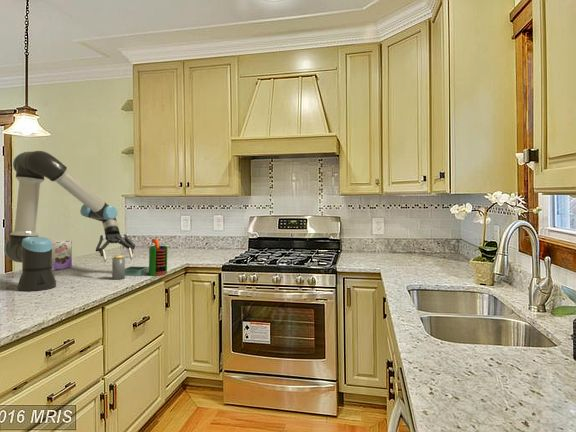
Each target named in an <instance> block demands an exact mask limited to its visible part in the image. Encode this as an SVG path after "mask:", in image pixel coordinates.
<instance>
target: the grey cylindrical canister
mask: <svg viewBox="0 0 576 432" xmlns="http://www.w3.org/2000/svg"><path fill="white" fill-rule="evenodd" d="M111 260H112V261H111V262H112V265H111V268H112V269H111V271H112V272H111V280H113V281H121V280H125V279H126V277H125V268H126V266H125V262H126V259H125V257H124V255H123V254H121V255H119V254H117V255H114V256H113V257H112V258H111Z"/></svg>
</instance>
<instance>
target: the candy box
mask: <svg viewBox="0 0 576 432" xmlns="http://www.w3.org/2000/svg"><path fill="white" fill-rule="evenodd" d="M51 242H52V272H53V271H60V270H65V269H70V268H71V269H72V267H73V266H72V265H73V263H72V257H73V253H72V249H73V247H72V246H73V245H72V244H73V242H72V240H55V241H51Z"/></svg>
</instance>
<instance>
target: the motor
mask: <svg viewBox="0 0 576 432" xmlns="http://www.w3.org/2000/svg"><path fill="white" fill-rule="evenodd" d="M151 244H154V245H152V246H149V247H148V248H149V249H148V267H149V273H148V276H150V277H160V276H161V277H162V276H165V275H166V274H167V273H168V246H166V245H160V243H159V240H158V238H152V239H151Z"/></svg>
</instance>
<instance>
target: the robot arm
mask: <svg viewBox="0 0 576 432" xmlns="http://www.w3.org/2000/svg"><path fill="white" fill-rule="evenodd" d="M12 166H13V167H12V168H13V169H14V171H15V172H16V173H15V179H16V180H17V181H18V183H19V184H18V190H17V198H16V199H17V200H16V209H15V210H16V211H15V221H14V229H13V231H11V233H10V234H9V240H8V241H7V242H6V243H5V244H4V248H3V249H4V253H5V256H6V257H7V258H8V259H9V260H11V261H13V262H16V263H21V268H22V269H21V270H22V271H21V275H20V277H19V280H18V283H17V290H18V291H22V292H34V291H35V292H36V291H37V292H38V291H45V290H49V289H50V290H51V289H53V288H56V287H57V280H56V277H55V275H54V272H53V271H52V242H53V241H52V240H51V239H50V238H48V237H45V236H39V234H38V233H37V232H36V229H37V219H38V208H39V199H40V190H41V189H40V188H41V184H42V183H43V182H45V178H46V179H49V181H50V182H55V183H56V184H57V185H59V186H61V187H62V188H63V189H64V190H65V191H67V192H68V193H69V194H71V196H73V197H74V198H76V199H77V200H78V201H79V202H81V203H82V204H83V205H81V208H80V215H81V216H83V217H85V218H88V219H91V220H92V219H93V220H96V221H99V222H101V223H102V226H103V231H104V235H101V234H100V237H99V241H98V243H97V246H96V247H95V252H98V253H99V256H100V257H102V260H103V262H104V263H106V261H107V255H106V251H105V249H106V247H108V246H109V245H110V244H111V245H112V244H119V245H122V246H123V247H124V248H126V250H127V251H128V255H129V260H130V261H132V260H133V258H134V255H133V254H134V250H135V248H136V244H135V243H134V242H133V241H132V240H131V239H130V238H129V237H128V235H127V234H126V233H125V234H123V235H121V231H120V229H119V225H118V221H117V216H118V209H117V208H116V207H115V206H113V205H109V204H108V203H107V202H105V201H104V200H103V199H102V198H101V197H99V196H98V195H97V194H96V193H95V192H94V191H92V190H91V189H90V188H88V187H87V185H85V184H84V183H83V182H82V181H80V180H79V179H78V178H77V177H76V176H75V175H73V174H72V173H71V172H70V171H69V170H68V167H67V166H66V165H65V164H63V162H61V161H60V160H59V159H57V157H55V156H54V155H52V154H50V153H49V152H46V151H45V150H44V151H43V150H32V151H24V152H21V153H19V154H17V155H16V156H15V157H14V159H13V161H12ZM104 240H106V241H105V242H104V243H103V241H104ZM102 243H103V245H102Z"/></svg>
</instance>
